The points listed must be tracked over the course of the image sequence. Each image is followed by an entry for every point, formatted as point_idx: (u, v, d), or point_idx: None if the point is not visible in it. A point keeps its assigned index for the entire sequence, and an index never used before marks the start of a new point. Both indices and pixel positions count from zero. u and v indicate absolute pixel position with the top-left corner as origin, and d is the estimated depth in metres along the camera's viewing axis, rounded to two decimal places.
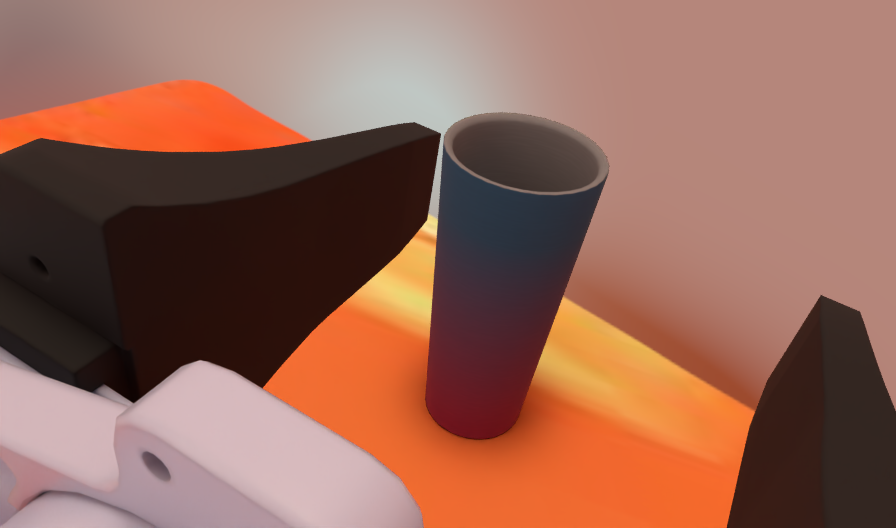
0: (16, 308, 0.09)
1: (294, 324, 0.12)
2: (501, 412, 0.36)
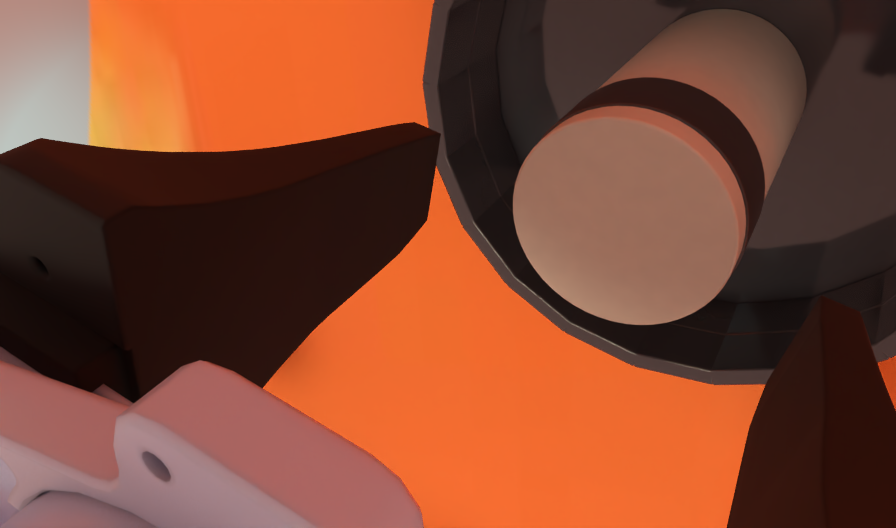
0: (16, 308, 0.09)
1: (294, 324, 0.12)
2: None
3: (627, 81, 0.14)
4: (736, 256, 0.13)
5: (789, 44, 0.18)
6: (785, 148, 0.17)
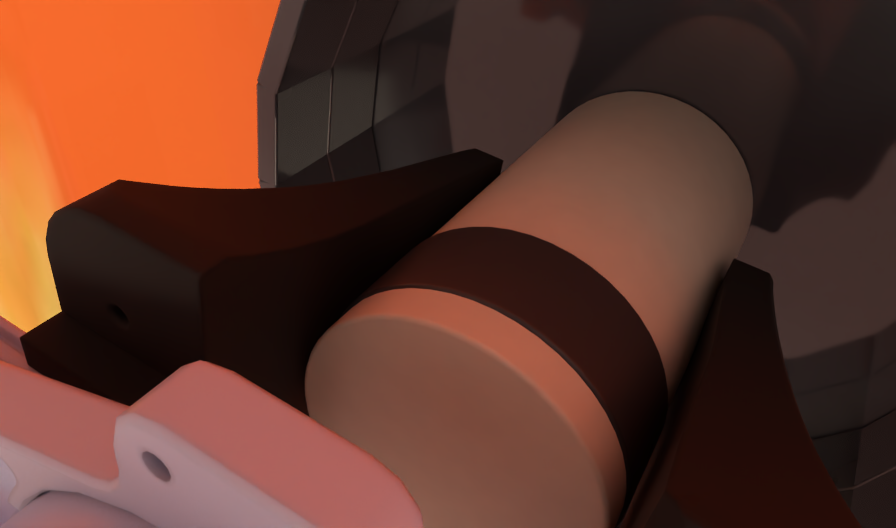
0: (92, 357, 0.09)
1: None
2: None
3: (466, 233, 0.10)
4: None
5: (727, 143, 0.13)
6: None
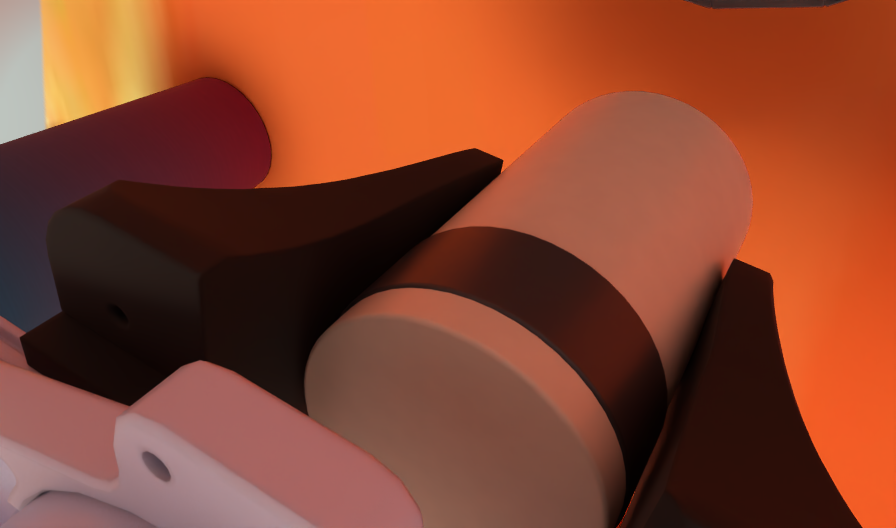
0: (92, 357, 0.09)
1: None
2: (218, 120, 0.29)
3: (465, 232, 0.10)
4: None
5: (727, 142, 0.13)
6: None
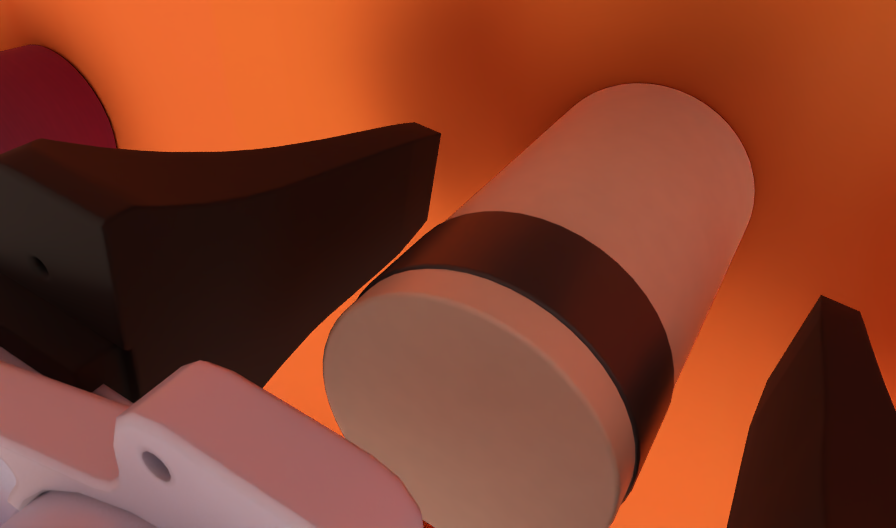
0: (16, 308, 0.09)
1: (294, 324, 0.12)
2: (29, 98, 0.22)
3: (479, 217, 0.10)
4: (618, 500, 0.09)
5: (730, 133, 0.14)
6: (718, 283, 0.12)
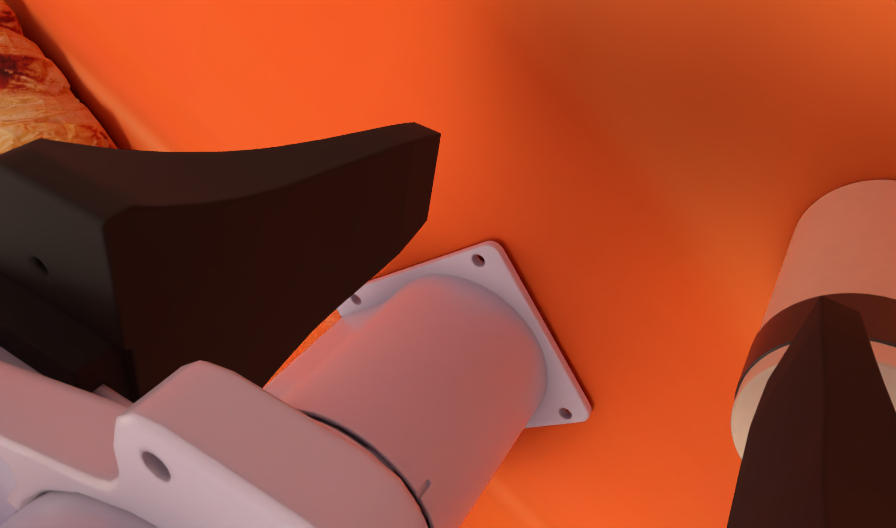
0: (16, 308, 0.09)
1: (294, 324, 0.12)
2: None
3: None
4: None
5: None
6: None
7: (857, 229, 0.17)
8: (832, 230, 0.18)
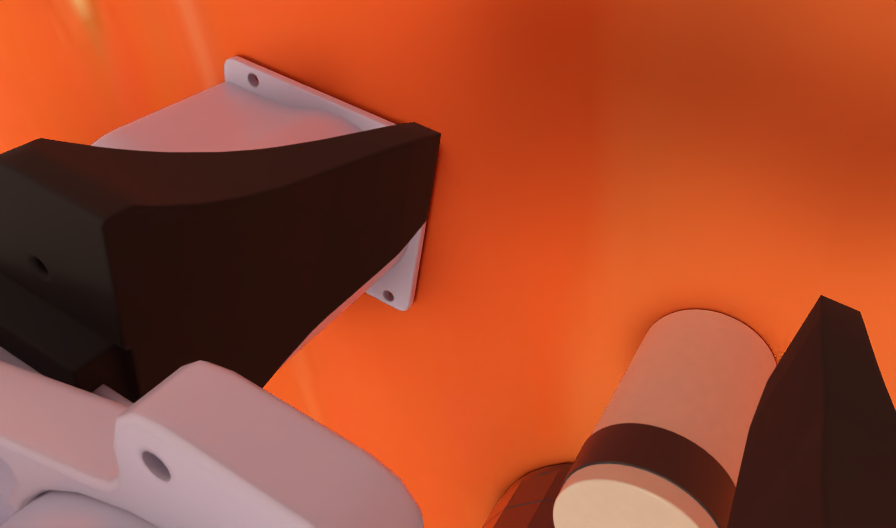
0: (16, 308, 0.09)
1: (294, 324, 0.12)
2: None
3: None
4: (553, 511, 0.20)
5: None
6: None
7: (724, 378, 0.21)
8: (707, 364, 0.21)
